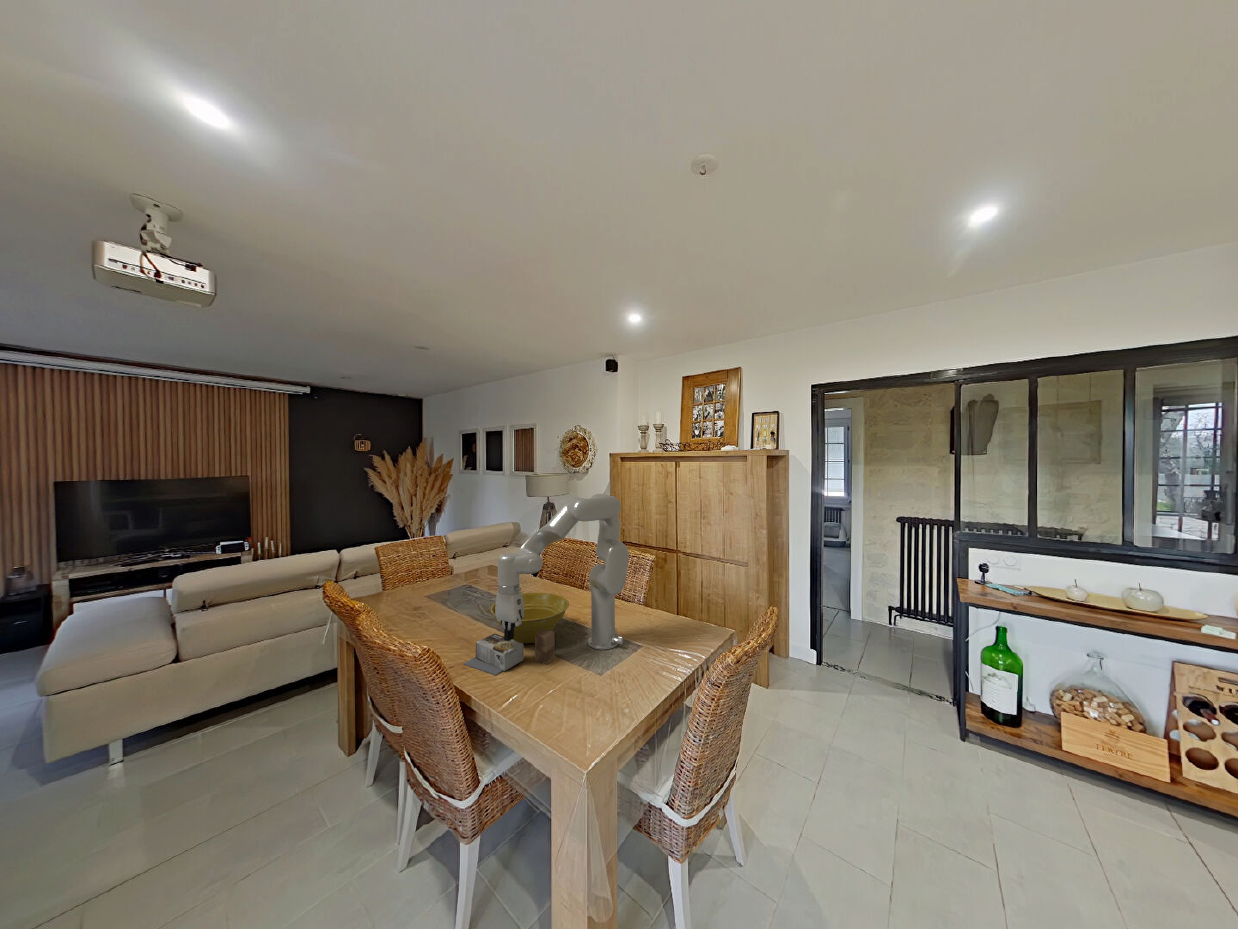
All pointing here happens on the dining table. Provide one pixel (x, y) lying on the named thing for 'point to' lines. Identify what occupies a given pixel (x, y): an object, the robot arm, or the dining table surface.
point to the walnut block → (544, 647)
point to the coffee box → (499, 651)
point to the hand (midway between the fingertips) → (509, 639)
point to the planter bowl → (538, 615)
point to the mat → (483, 666)
